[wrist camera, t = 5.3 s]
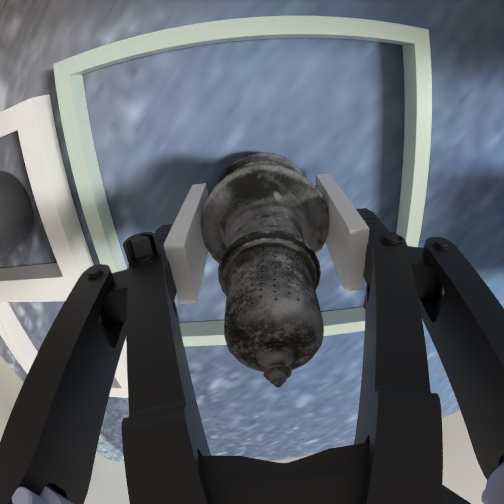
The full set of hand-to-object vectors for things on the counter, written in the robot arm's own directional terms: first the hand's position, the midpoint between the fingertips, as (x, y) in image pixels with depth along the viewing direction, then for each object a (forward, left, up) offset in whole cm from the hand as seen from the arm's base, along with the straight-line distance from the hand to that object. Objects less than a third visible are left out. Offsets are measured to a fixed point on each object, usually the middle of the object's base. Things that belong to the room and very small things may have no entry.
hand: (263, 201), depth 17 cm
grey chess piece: (0, 0, -1) cm, 1 cm away
